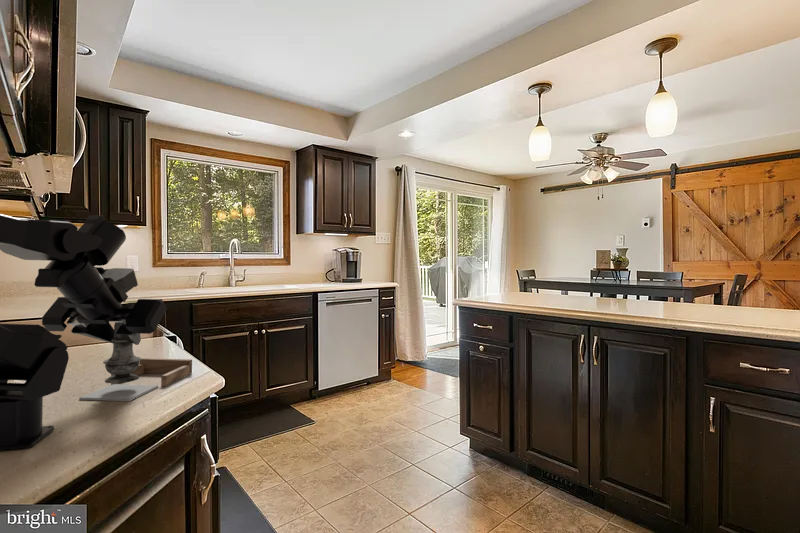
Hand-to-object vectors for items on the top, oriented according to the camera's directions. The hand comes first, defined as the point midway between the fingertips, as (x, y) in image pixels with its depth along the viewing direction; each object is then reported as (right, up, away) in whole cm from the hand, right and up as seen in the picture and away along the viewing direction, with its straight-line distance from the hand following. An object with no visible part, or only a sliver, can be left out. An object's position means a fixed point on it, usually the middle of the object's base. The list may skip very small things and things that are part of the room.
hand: (128, 342), depth 78 cm
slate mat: (0, -9, -2) cm, 9 cm away
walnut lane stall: (0, -9, +8) cm, 12 cm away
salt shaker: (0, -7, -1) cm, 7 cm away
